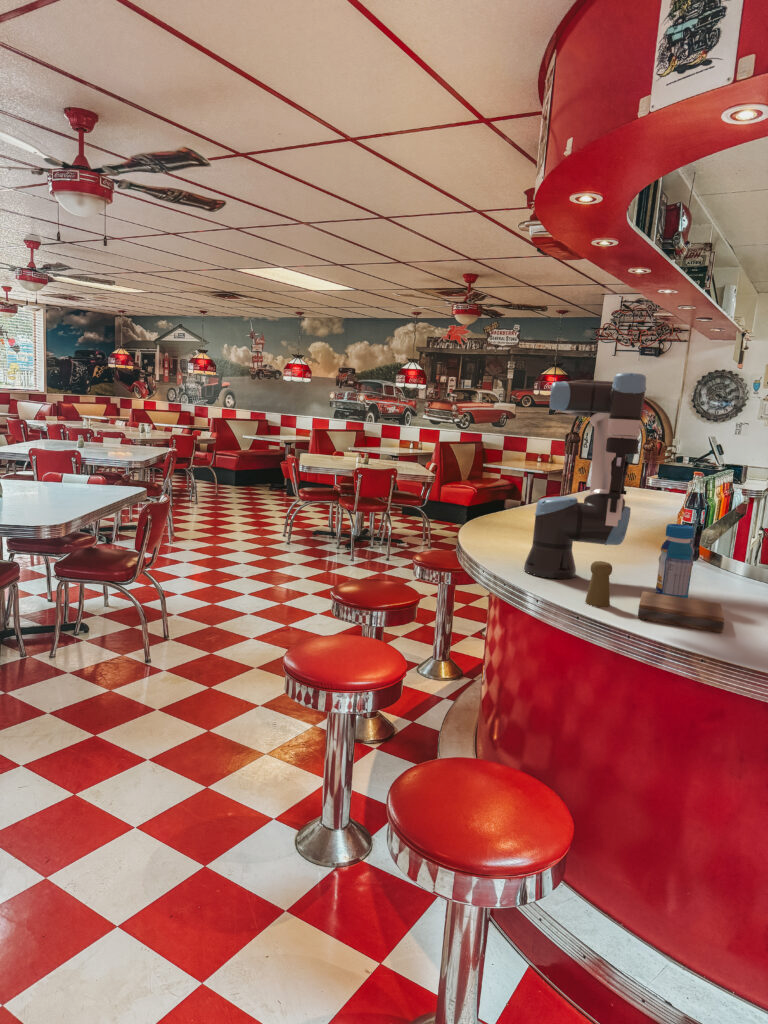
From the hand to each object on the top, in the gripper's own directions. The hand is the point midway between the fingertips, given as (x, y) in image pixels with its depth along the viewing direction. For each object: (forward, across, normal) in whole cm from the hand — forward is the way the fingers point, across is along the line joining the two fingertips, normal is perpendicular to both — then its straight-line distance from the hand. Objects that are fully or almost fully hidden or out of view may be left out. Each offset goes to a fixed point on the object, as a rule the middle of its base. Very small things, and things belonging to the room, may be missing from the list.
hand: (613, 522), depth 161 cm
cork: (+21, -1, +2) cm, 21 cm away
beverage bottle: (+21, +17, -16) cm, 32 cm away
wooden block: (+21, -2, -18) cm, 27 cm away
